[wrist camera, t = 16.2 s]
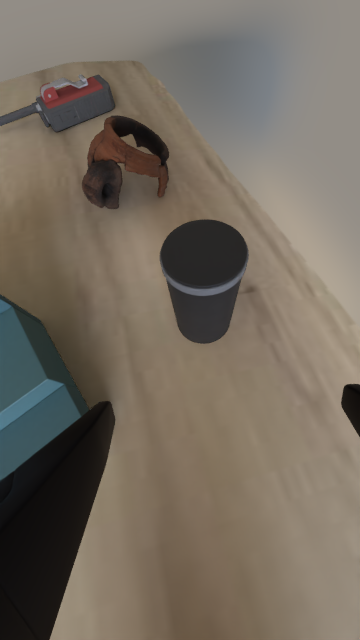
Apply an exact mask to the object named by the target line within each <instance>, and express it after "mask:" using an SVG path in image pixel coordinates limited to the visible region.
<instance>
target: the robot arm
mask: <svg viewBox="0 0 360 640" xmlns="http://www.w3.org/2000/svg"><path fill="white" fill-rule="evenodd" d="M341 405H342V408H343V410H344V412H345V413H346V415H347V417H348V418H349V420H350V422H351V423H352V425H353V427H354V428H355V430H356V432H357V433H358V435H359V437H360V385H359V384H347V385H345V386H344V389H343V395H342V401H341ZM114 425H115V416H114V412H113V408H112V404H111V402H109V401H103V402H99V403H98V404H96V405H95V406H94V407H93V408H91V409H90V410H89V411H88V412H86V413H85V414H84V415H83V416H81V417H80V418H79V419H77V420H76V421H75V422H74V423H72V424H71V425H70V426H69V427H67V428H66V429H65V430H64V431H62V432H61V433H60V434H59V435H57V436H56V437H55V438H54V439H52V440H51V441H50V442H49V443H47V444H46V445H45V446H44V447H42V448H41V449H40V450H39V451H37V452H36V453H35V454H34V455H32V456H31V457H30V458H29V459H27V460H26V461H25V462H24V463H22V464H21V465H20V466H18V467H17V468H16V469H15V471H12V472H11V473H10V474H8V475H7V476H6V477H5V478H3V479H2V480H1V481H0V640H49V639H50V636H51V633H52V630H53V627H54V624H55V621H56V618H57V615H58V611H59V608H60V605H61V602H62V599H63V596H64V593H65V590H66V587H67V584H68V580H69V577H70V574H71V571H72V568H73V565H74V562H75V559H76V556H77V553H78V549H79V546H80V543H81V540H82V537H83V534H84V531H85V528H86V525H87V522H88V518H89V515H90V512H91V509H92V506H93V503H94V500H95V497H96V494H97V491H98V487H99V484H100V481H101V478H102V475H103V472H104V469H105V465H106V462H107V458H108V453H109V449H110V444H111V439H112V434H113V430H114Z"/></svg>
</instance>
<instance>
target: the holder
mask: <svg viewBox="0 0 360 640" xmlns="http://www.w3.org/2000/svg"><path fill="white" fill-rule="evenodd" d="M248 256H249V254H248V248H247V245H246V242H245V240H244V238H243V237H242V235H241V234H240V233H239V232H238V231H237V230H236V229H235V228H233V227H232V226H230V225H228V224H226V223H223V222H220V221H215V220H196V221H191V222H188V223H186V224H183V225H181V226H179V227H178V228H176V229H175V230H173V231H172V232H171V233H170V234H169V235H168V237H167V238H166V240H165V241H164V243H163V245H162V248H161V251H160V264H161V268H162V271H163V274H164V276H165V278H166V280H167V284H168V288H169V292H170V296H171V300H172V304H173V308H174V312H175V316H176V320H177V324H178V327H179V329H180V331H181V333H182V334H183V335H184V336H185V337H186V338H187V339H189V340H191V341H193V342H196V343H203V344H205V343H211V342H214V341H216V340H218V339H220V338H221V337H222V336H223V335H224V334H225V333H226V331H227V330H228V328H229V324H230V320H231V317H232V313H233V309H234V305H235V301H236V297H237V293H238V290H239V286H240V282H241V278H242V276H243V274H244V272H245V270H246V266H247V262H248Z"/></svg>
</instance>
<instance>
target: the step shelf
mask: <svg viewBox="0 0 360 640" xmlns="http://www.w3.org/2000/svg"><path fill="white" fill-rule="evenodd" d="M88 411H89V408H88V406H87V405H86V403H85V401H84V399H83V397H82V395H81V394H80V392H79V390H78V388H77V386H76V384H75V383H74V381H73V379H72V377H71V375H70V373H69V372H68V370H67V368H66V366H65V364H64V362H63V361H62V359H61V357H60V355H59V353H58V352H57V350H56V348H55V346H54V344H53V342H52V341H51V339H50V337H49V335H48V333H47V331H46V330H45V328H44V326H43V324H42V322H41V320H39V319H38V318H36V317H35V316H33V315H32V314H30V313H28V312H27V311H25V310H24V309H22V308H21V307H19V306H18V305H16V304H14V303H13V302H11V301H10V300H8V299H7V298H5V297H4V296H2V295H1V294H0V481H1V480H2V479H3V478H5V477H6V476H7V475H8V474H10V473H11V472H12V471H15V469H16V468H17V467H18V466H20V465H21V464H22V463H24V462H25V461H26V460H27V459H29V458H30V457H31V456H32V455H34V454H35V453H36V452H37V451H39V450H40V449H41V448H42V447H44V446H45V445H46V444H47V443H49V442H50V441H51V440H52V439H54V438H55V437H56V436H57V435H59V434H60V433H61V432H62V431H64V430H65V429H66V428H67V427H69V426H70V425H71V424H72V423H74V422H75V421H76V420H77V419H79V418H80V417H81V416H83V415H84V414H85V413H86V412H88Z"/></svg>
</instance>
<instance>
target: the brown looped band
mask: <svg viewBox="0 0 360 640" xmlns="http://www.w3.org/2000/svg"><path fill="white" fill-rule="evenodd" d="M129 134H133V136H134V139H135V141H136V144H137V147H145V148H147V149H148V150H149V151H150V152H151V153H153V154H154V155H151V154H146V153H144V152H142V151H139V150H137V149H135V148H134V147H132V146H130V145H128V144H126V143H125V142H124V141H123V140H122V139H121V138H120V137H124V136H127V135H129ZM168 158H169V151H168V148H167V146H166V144H165V143H164V142H163V141H162V140H161V138H160V137H159V136H158V135H157V134H155V133H154V132H153V131H152V130H150V129H149V128H148V127H146V126H145V125H143V124H141V123H139V122H138V121H135V120H133V119H131V118H127V117H124V116H111V117H109V118H107V119H106V120H105V122H104V130H102V131H101V132H100V133H99V134H97V135H96V136H95V137H94V139H93V140H92V142H91V144H90V148H89V153H88V157H87V159H88V170H87V173H86V175H85V176H84V178H83V182H82V188H83V192H84V194H85V195H86V197H87V199H88V200H89V201H90V202H91V203H93V204H94V205H97V206H99V207H100V208H102V207H104V206H105V207H107V208H109V209H117V208H118V207H119V204H118V200H119V192H120V187H121V185H122V171H121V168H120V166H119V165H118V164H117V163H123V164H125V170H126V171H129V172H134V173H137V174H140V175H148V176H150V177H157V178H158V180H159V188H158V196H159V197H161V196H163V195H164V193H165V189H166V188H167V181H168V180H169V178H168V168H167V164H166V161H167V159H168ZM160 164H161V165H160Z"/></svg>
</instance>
